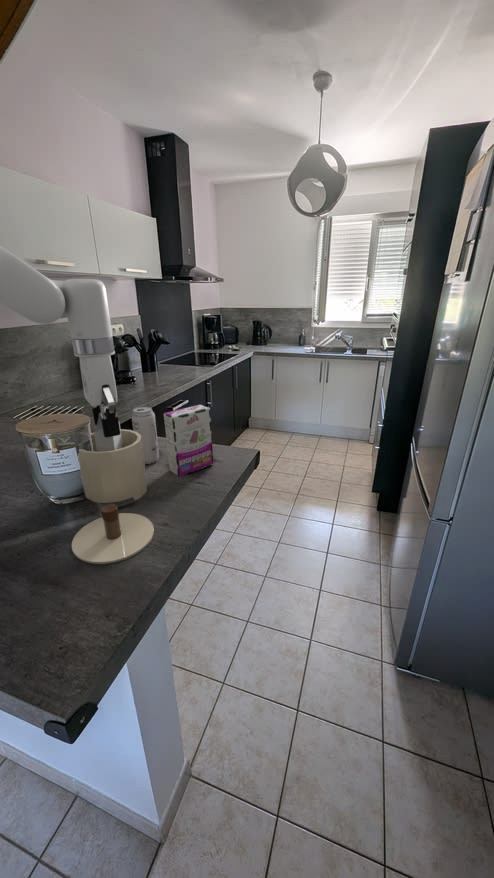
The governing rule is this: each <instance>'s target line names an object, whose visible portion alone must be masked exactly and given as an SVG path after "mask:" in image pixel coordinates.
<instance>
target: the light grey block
mask: <svg viewBox="0 0 494 878" xmlns="http://www.w3.org/2000/svg"><path fill="white" fill-rule="evenodd" d="M106 408H107V407H105V408H104V410H106ZM101 419H103V417H102V413H101V412H100V413H99V418H98V423H97V426H96V425H95V429H94V431H93V433H94V436H95V442H96V447H97V452H101V451H112V450H116V449H121V448H122V446H123V443H122V436H121V430H120V435H117V436H112V437H107V438H106V437H105V436H104V433H103V427H102V421H101ZM119 427H120V428H121V423H120V422H119Z"/></svg>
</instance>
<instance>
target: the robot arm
mask: <svg viewBox="0 0 494 878" xmlns="http://www.w3.org/2000/svg"><path fill="white" fill-rule="evenodd" d="M0 304H1V305H4V306H5V307H6V308H8V309H10V310H12V311H13V312H14V313H16V314H18V315H19V316H21V317H23V318H25V319H27V320H29V321H31V322H33V323H37V324H41V325H44V324H45V325H47V324H52V323H55V322H56V321H58V320H60V319H67V322H68V327H69V333H70V338H71V343H72V349H73V354H74V357H77V358H79V368H80V375H81V381H82V389H83V390H82V391H83V395H84V398H85V400H86V401H87V402H88V404H89V405H90V406H91V407H92V408H91V411H92V417H93V422H94V425H95V427H96V426H97V423H98V418H99V413H100V412H101V413H102V417H103V419H101V421H102V427H103V433H104V436H105V437H106V438H107V437H112V436H117V435H120V429H121V426H120V427H119V423H120V420H119V415H118V411H117V407H116V404H117V403H118V391H117V385H116V384H117V383H116V378H115V371H114V365H113V362H112V357H111V356H113V355H115V354H116V351H115V342H114V337H113V331H112V330H113V329H112V322H111V315H110V310H109V309H110V308H109V302H108V294H107V289H106V286H105V284H104V282H103V281H102V280H100V279H97V278H69V279H66V280H57V279H50V278H49V277H47V276H45V275H44V274H42V273H41V272H40V271H38V270H37V269H36V268H34V267H33V266H31V265H29V264H28V263H27V262H25V261H24V260H22V259H21V258H20V257H18V256H16V255H15V254H14V253H12V252H10V250H8V249H7V248H5V247H3V245H0ZM105 407H107V408H106V410H104V408H105Z"/></svg>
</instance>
